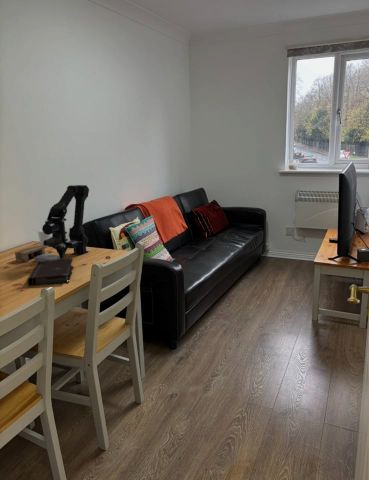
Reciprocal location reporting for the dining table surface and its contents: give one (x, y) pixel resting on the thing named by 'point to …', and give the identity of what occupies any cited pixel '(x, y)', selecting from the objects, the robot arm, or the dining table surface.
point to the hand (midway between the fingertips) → (62, 258)
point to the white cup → (43, 237)
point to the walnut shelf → (29, 253)
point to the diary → (51, 272)
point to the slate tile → (46, 257)
